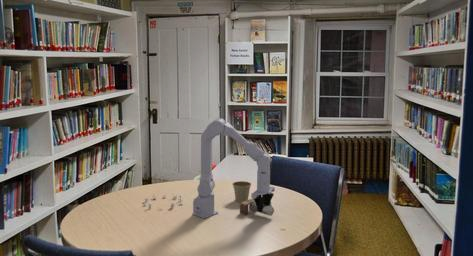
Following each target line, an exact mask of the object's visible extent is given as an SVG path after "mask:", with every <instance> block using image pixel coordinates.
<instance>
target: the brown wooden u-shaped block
mask: <svg viewBox="0 0 473 256" xmlns="http://www.w3.org/2000/svg"><path fill="white" fill-rule="evenodd" d="M253 202H255V201H254V199H253V198H250V199H249V198H248V200H247V201H244V202H239V214H240V215H243V216H248V215H249V210H250V211H252V210H251V205H252V203H253ZM249 205H250V207H249Z"/></svg>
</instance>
